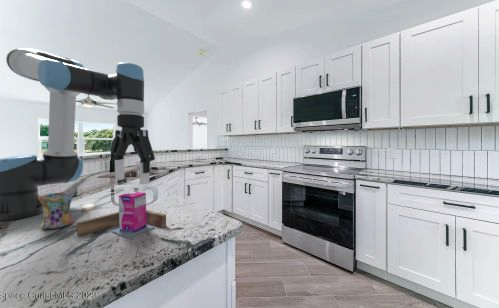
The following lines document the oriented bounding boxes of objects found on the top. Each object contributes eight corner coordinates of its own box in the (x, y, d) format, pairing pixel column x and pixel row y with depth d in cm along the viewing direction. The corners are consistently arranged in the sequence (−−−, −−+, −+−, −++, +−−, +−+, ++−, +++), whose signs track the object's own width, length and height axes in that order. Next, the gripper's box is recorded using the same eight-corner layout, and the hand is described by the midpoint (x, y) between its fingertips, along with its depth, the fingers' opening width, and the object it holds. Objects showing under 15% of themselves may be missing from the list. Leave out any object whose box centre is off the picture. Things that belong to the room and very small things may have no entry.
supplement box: (118, 231, 69) (117, 195, 69) (132, 224, 75) (131, 191, 75) (134, 233, 68) (133, 196, 68) (147, 226, 74) (146, 192, 73)
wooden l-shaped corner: (77, 235, 67) (76, 222, 67) (136, 217, 84) (136, 207, 84) (106, 248, 59) (106, 233, 59) (166, 226, 75) (165, 214, 75)
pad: (111, 231, 70) (111, 230, 70) (138, 223, 78) (138, 222, 78) (127, 238, 65) (127, 236, 65) (154, 228, 73) (154, 227, 73)
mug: (79, 224, 77) (78, 194, 76) (44, 233, 69) (43, 199, 68) (66, 218, 83) (65, 190, 83) (32, 226, 75) (31, 195, 75)
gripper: (97, 115, 73) (99, 179, 74) (144, 110, 61) (144, 187, 62) (120, 117, 80) (121, 176, 81) (167, 114, 67) (167, 183, 68)
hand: (131, 181), depth 71 cm, fingers open, 13 cm apart
